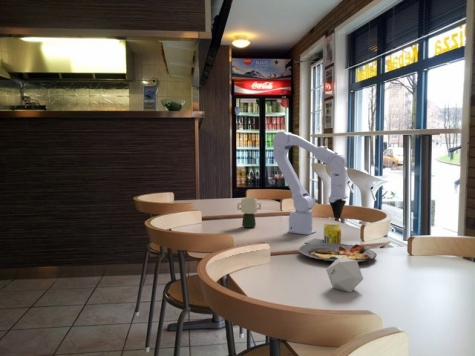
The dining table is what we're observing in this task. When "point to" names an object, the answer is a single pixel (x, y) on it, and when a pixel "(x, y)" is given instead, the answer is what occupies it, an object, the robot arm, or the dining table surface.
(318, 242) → the mat
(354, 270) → the die
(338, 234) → the supplement box
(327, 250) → the food plate
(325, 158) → the robot arm
